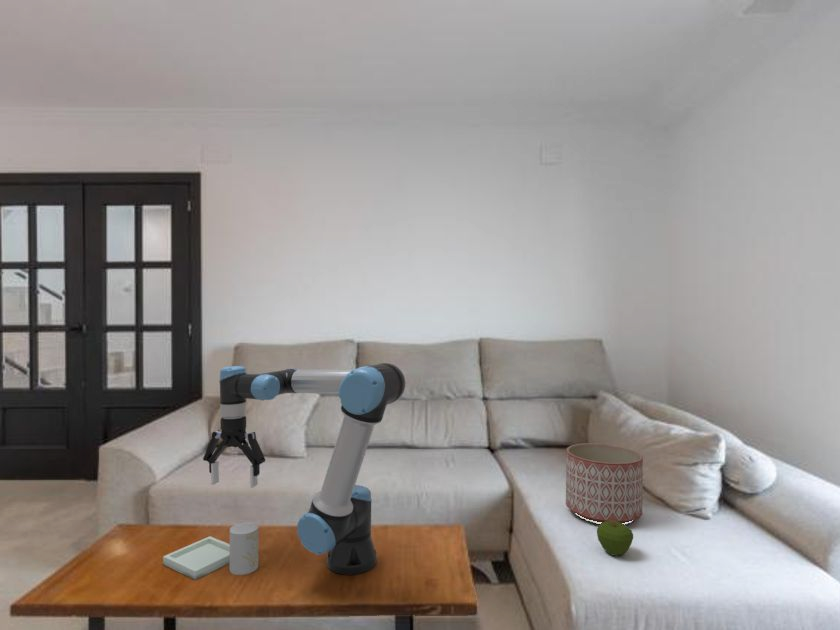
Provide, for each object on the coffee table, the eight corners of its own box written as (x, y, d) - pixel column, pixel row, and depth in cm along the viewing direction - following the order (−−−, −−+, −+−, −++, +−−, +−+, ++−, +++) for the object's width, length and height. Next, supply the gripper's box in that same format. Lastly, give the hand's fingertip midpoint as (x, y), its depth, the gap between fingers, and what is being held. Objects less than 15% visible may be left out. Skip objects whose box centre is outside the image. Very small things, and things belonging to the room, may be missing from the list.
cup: (249, 576, 146) (249, 535, 146) (223, 573, 148) (223, 532, 147) (263, 562, 154) (263, 523, 154) (239, 559, 156) (239, 521, 155)
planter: (647, 510, 196) (648, 449, 196) (635, 536, 173) (636, 468, 173) (576, 495, 211) (577, 439, 211) (556, 518, 188) (557, 455, 187)
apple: (591, 553, 161) (591, 522, 161) (604, 542, 169) (605, 512, 169) (625, 565, 154) (625, 532, 154) (637, 553, 161) (638, 522, 161)
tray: (241, 556, 157) (241, 548, 157) (195, 580, 144) (195, 571, 144) (209, 543, 166) (209, 536, 166) (163, 564, 152) (163, 556, 152)
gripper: (276, 415, 157) (276, 483, 157) (206, 412, 163) (207, 478, 163) (263, 420, 150) (264, 491, 150) (190, 417, 155) (191, 486, 156)
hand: (234, 484), depth 156 cm, fingers open, 13 cm apart
